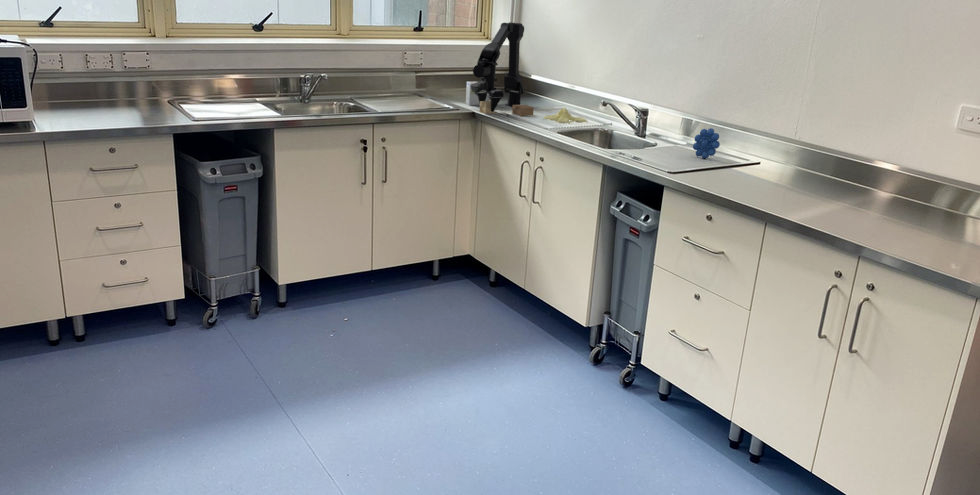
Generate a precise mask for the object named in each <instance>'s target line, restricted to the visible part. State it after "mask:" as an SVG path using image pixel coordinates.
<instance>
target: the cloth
mask: <svg viewBox="0 0 980 495" xmlns="http://www.w3.org/2000/svg"><path fill="white" fill-rule="evenodd" d="M568 110H569V109H567V108H566V107H562V108H561V109H560V110H559V111H558V112H557V113H555V114H550V115H548V114H547V115H545V116H544V117H543V118H544V119H550V120H549V121H554V123H556V122H559V123H558V124H565V123H568V124H567V125H571V124H570V123H571V122H574V121H578V122H577V123H582V122H588V120H587V119H585V118H584V117H580V116H579V117H577V116H572V115H571V114H570V112H569V111H568ZM569 120H572V121H569Z"/></svg>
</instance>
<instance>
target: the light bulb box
mask: <svg viewBox="0 0 980 495" xmlns="http://www.w3.org/2000/svg"><path fill="white" fill-rule="evenodd" d="M476 82H477V81H466V90H465V91H466V92H465V104H467V105H468V106H480V103H479V99H478V96H477V95H476V94H474V92H472V88H471V85H472V84H474V83H476ZM489 97H490V96H489V93H487V96H486V100H485V101H491V100H490V99H489Z"/></svg>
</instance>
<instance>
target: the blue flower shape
mask: <svg viewBox="0 0 980 495" xmlns="http://www.w3.org/2000/svg"><path fill="white" fill-rule="evenodd" d="M719 138H720V134H719V133H717V132H715V129H713V128H711V127H710V128H708V129H707V128H702V129H701V130H700V131H699V134H696V135H695V136H694V143H693V145H692V149H693V150H695V156H696V157H698V156H700V157H701V158H702V157H703V158H707V159H708V158H709V156H710V157H712V156H714V155H716V154H717V149H719V148H720V146H721V144H720V141H719ZM703 158H702V159H703Z"/></svg>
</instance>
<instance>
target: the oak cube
mask: <svg viewBox="0 0 980 495" xmlns="http://www.w3.org/2000/svg"><path fill="white" fill-rule="evenodd" d="M479 113H480V114H485V115H486V114H495V110H494V111H493V112H491V100H490V101H480V105H479Z"/></svg>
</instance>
